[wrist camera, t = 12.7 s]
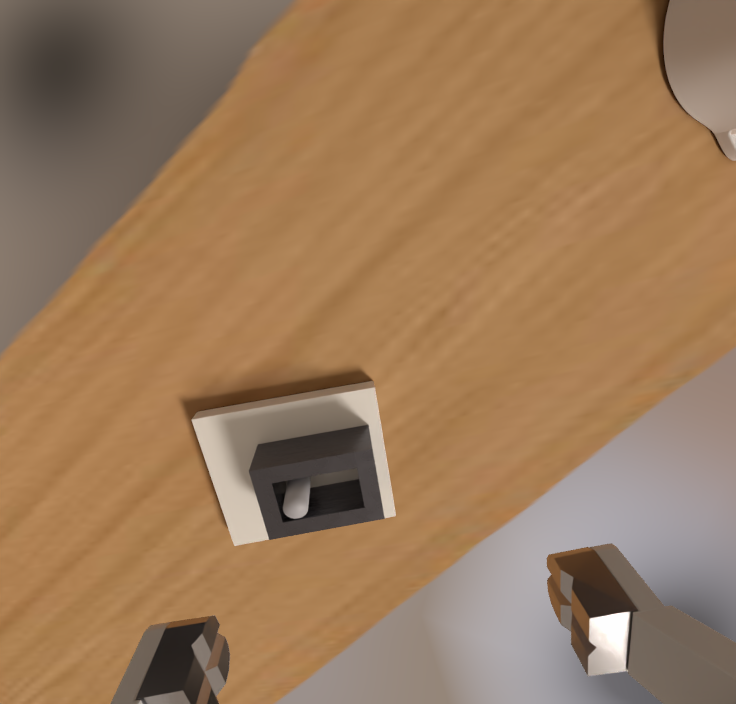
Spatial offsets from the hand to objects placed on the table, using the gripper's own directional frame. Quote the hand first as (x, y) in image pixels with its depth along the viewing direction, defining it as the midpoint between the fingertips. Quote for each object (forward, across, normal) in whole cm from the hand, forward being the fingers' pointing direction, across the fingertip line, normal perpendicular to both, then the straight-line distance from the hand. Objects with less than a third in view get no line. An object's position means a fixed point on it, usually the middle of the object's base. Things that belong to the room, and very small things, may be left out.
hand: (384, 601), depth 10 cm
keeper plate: (+26, +8, +13) cm, 30 cm away
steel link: (+24, +6, +13) cm, 28 cm away
